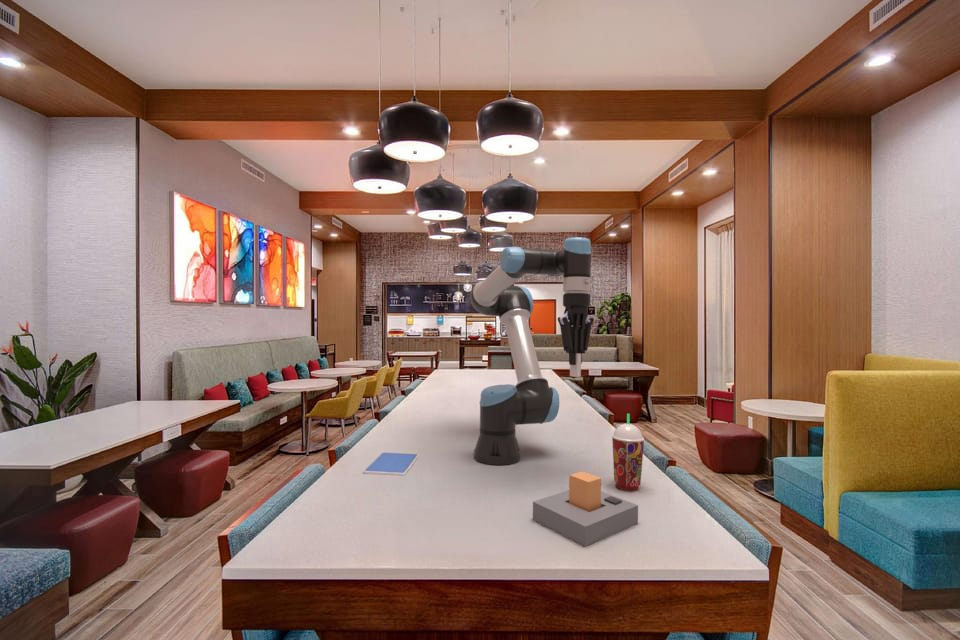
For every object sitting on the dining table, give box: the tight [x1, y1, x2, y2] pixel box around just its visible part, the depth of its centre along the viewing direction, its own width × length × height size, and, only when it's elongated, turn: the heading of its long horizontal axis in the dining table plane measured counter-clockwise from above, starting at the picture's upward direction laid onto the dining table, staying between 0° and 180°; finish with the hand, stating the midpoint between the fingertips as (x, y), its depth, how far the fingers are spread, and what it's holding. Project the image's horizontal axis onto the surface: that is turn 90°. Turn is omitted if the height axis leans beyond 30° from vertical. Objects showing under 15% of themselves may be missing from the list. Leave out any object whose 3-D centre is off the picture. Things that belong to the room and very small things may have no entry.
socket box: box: [532, 489, 639, 548], centre depth 101 cm, size 15×18×4 cm
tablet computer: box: [362, 452, 420, 477], centre depth 138 cm, size 19×13×1 cm, turn 175°
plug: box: [568, 471, 602, 512], centre depth 101 cm, size 5×4×10 cm
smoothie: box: [611, 413, 645, 492], centre depth 122 cm, size 8×8×20 cm
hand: (575, 376), depth 127 cm, fingers closed
